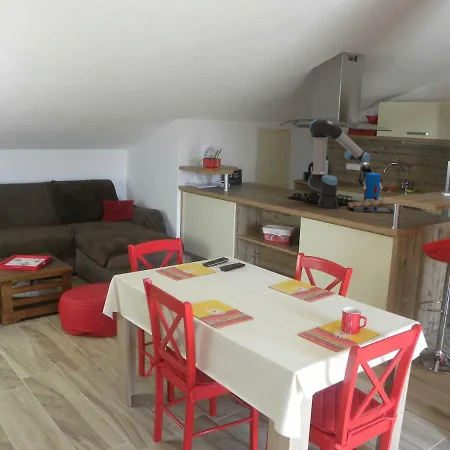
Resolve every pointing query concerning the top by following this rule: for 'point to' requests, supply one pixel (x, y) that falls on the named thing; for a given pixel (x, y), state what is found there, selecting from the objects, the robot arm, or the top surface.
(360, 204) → the levelling board
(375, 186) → the blue tall block
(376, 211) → the tribrach base
